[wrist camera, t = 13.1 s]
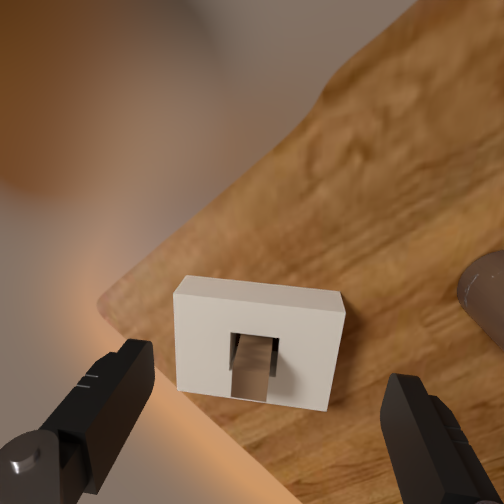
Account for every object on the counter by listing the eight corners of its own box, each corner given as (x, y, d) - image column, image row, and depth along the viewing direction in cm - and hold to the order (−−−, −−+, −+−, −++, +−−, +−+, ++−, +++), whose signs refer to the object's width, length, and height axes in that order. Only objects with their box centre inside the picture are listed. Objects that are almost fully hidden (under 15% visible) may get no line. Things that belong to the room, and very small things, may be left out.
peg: (274, 321, 43) (269, 374, 34) (271, 345, 44) (266, 402, 35) (245, 317, 43) (232, 368, 34) (243, 341, 45) (230, 396, 35)
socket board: (339, 291, 40) (345, 312, 35) (323, 382, 46) (326, 411, 41) (186, 275, 42) (173, 293, 37) (188, 364, 47) (177, 390, 43)
